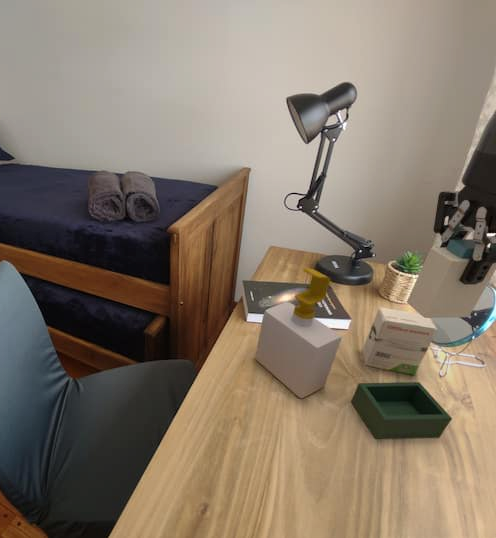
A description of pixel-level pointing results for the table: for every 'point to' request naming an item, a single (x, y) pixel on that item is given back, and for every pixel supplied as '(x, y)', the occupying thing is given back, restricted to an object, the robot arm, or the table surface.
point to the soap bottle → (298, 340)
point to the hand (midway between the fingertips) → (454, 273)
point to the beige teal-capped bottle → (447, 282)
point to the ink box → (398, 340)
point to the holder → (399, 410)
